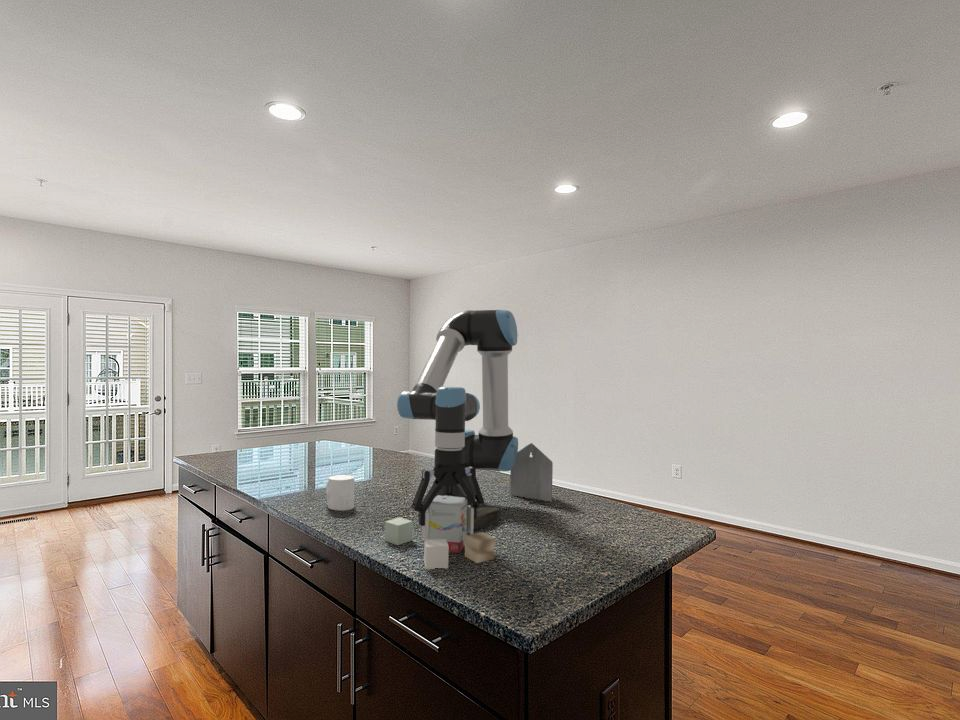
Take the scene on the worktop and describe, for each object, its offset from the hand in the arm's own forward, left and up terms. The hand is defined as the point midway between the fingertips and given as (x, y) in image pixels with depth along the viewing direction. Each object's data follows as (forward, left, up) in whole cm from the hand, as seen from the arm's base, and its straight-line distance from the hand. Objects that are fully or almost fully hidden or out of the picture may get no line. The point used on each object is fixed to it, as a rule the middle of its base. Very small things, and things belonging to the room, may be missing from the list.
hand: (447, 535), depth 127 cm
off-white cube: (+7, +10, -3) cm, 13 cm away
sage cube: (+10, -9, -3) cm, 14 cm away
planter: (-48, -36, -3) cm, 60 cm away
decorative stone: (-15, -14, -3) cm, 20 cm away
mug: (+18, -48, -3) cm, 51 cm away
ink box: (0, 0, -3) cm, 3 cm away
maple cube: (-4, +10, -3) cm, 11 cm away
